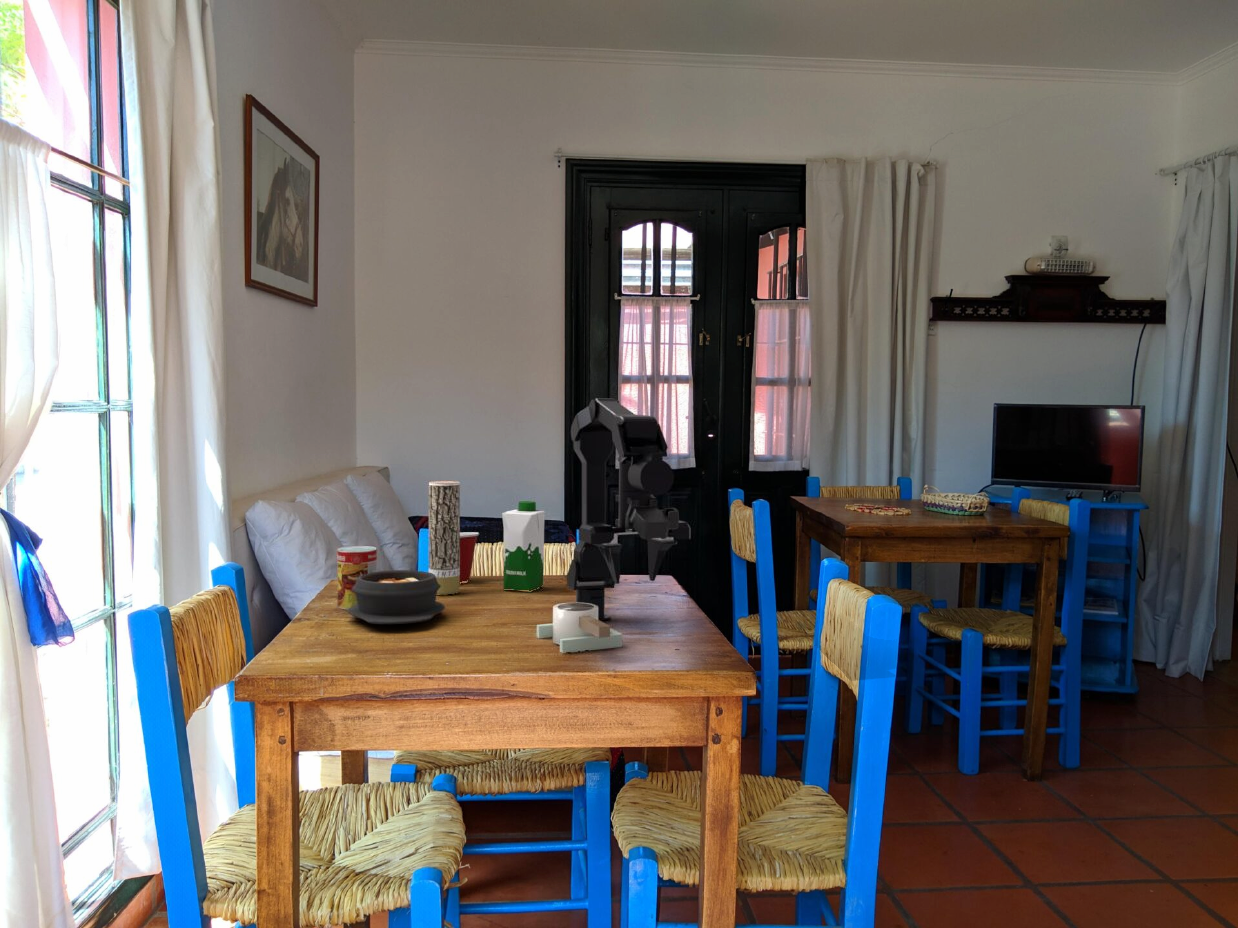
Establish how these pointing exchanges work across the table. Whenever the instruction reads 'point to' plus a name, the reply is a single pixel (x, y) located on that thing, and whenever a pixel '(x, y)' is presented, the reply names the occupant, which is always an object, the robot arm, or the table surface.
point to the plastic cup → (467, 553)
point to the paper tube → (445, 535)
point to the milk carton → (523, 547)
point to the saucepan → (577, 621)
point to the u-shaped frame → (581, 640)
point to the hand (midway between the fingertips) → (634, 582)
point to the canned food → (353, 571)
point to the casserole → (396, 597)
